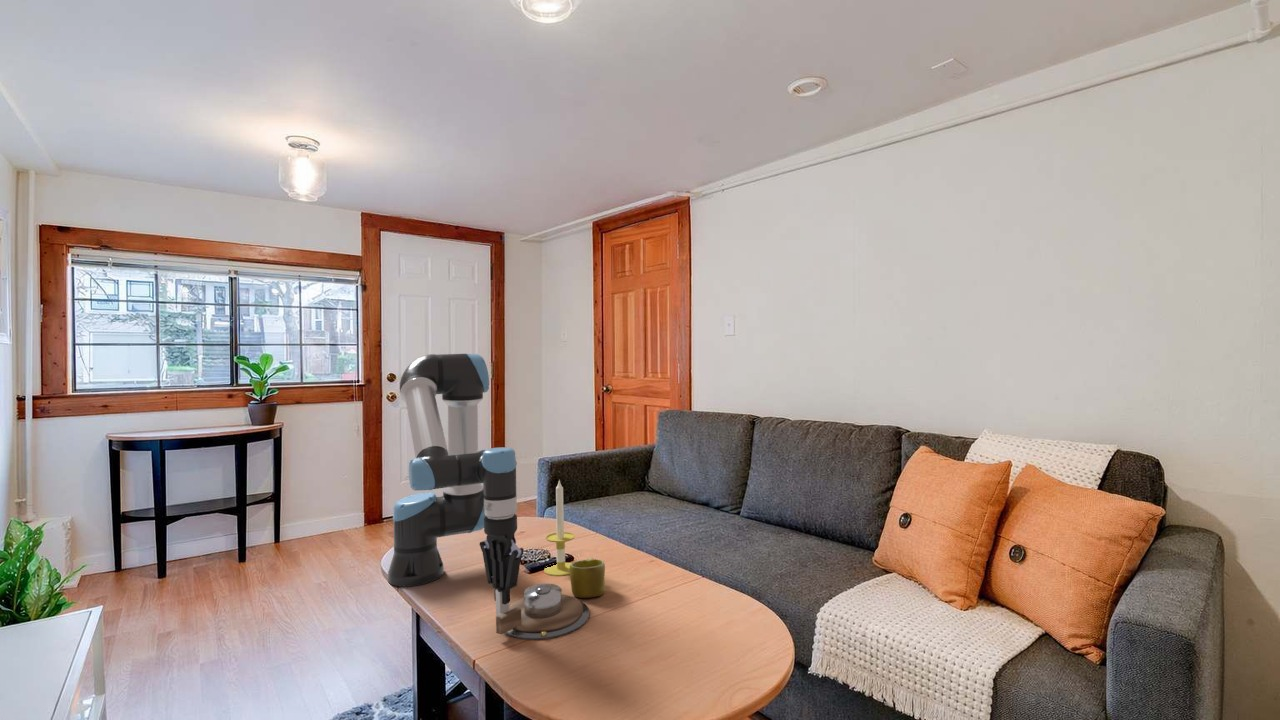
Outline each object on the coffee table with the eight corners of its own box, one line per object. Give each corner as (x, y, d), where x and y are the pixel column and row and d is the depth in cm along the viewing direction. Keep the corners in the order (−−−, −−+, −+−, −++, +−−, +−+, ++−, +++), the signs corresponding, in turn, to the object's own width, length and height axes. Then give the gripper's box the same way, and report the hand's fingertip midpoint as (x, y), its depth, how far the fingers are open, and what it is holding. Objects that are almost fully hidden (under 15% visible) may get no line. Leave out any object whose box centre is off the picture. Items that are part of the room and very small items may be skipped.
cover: (517, 615, 136) (517, 593, 136) (535, 599, 144) (535, 578, 144) (551, 621, 133) (551, 598, 133) (567, 604, 141) (567, 583, 141)
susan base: (477, 623, 136) (477, 617, 136) (544, 591, 154) (544, 586, 154) (543, 649, 123) (543, 643, 123) (607, 611, 141) (607, 605, 141)
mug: (605, 596, 145) (595, 556, 148) (568, 606, 147) (559, 567, 150) (619, 587, 157) (609, 550, 159) (585, 596, 159) (576, 560, 161)
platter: (471, 626, 133) (471, 606, 133) (543, 591, 152) (543, 574, 152) (528, 649, 122) (528, 628, 122) (599, 608, 141) (598, 590, 141)
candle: (584, 570, 168) (582, 479, 168) (553, 578, 162) (551, 484, 162) (568, 561, 176) (566, 474, 176) (538, 568, 171) (536, 478, 170)
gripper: (469, 514, 134) (471, 615, 134) (506, 523, 126) (509, 629, 126) (494, 507, 140) (496, 603, 140) (531, 515, 132) (534, 617, 132)
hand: (502, 616), depth 133 cm, fingers closed
